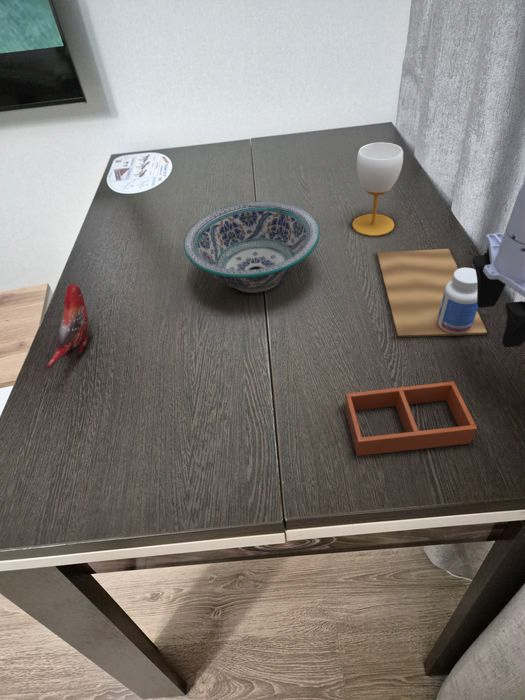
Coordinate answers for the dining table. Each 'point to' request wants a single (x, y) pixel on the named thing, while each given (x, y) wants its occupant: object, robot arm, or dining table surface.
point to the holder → (410, 418)
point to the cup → (377, 183)
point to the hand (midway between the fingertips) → (497, 324)
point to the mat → (419, 290)
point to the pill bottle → (459, 302)
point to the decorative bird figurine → (72, 325)
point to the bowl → (252, 243)
